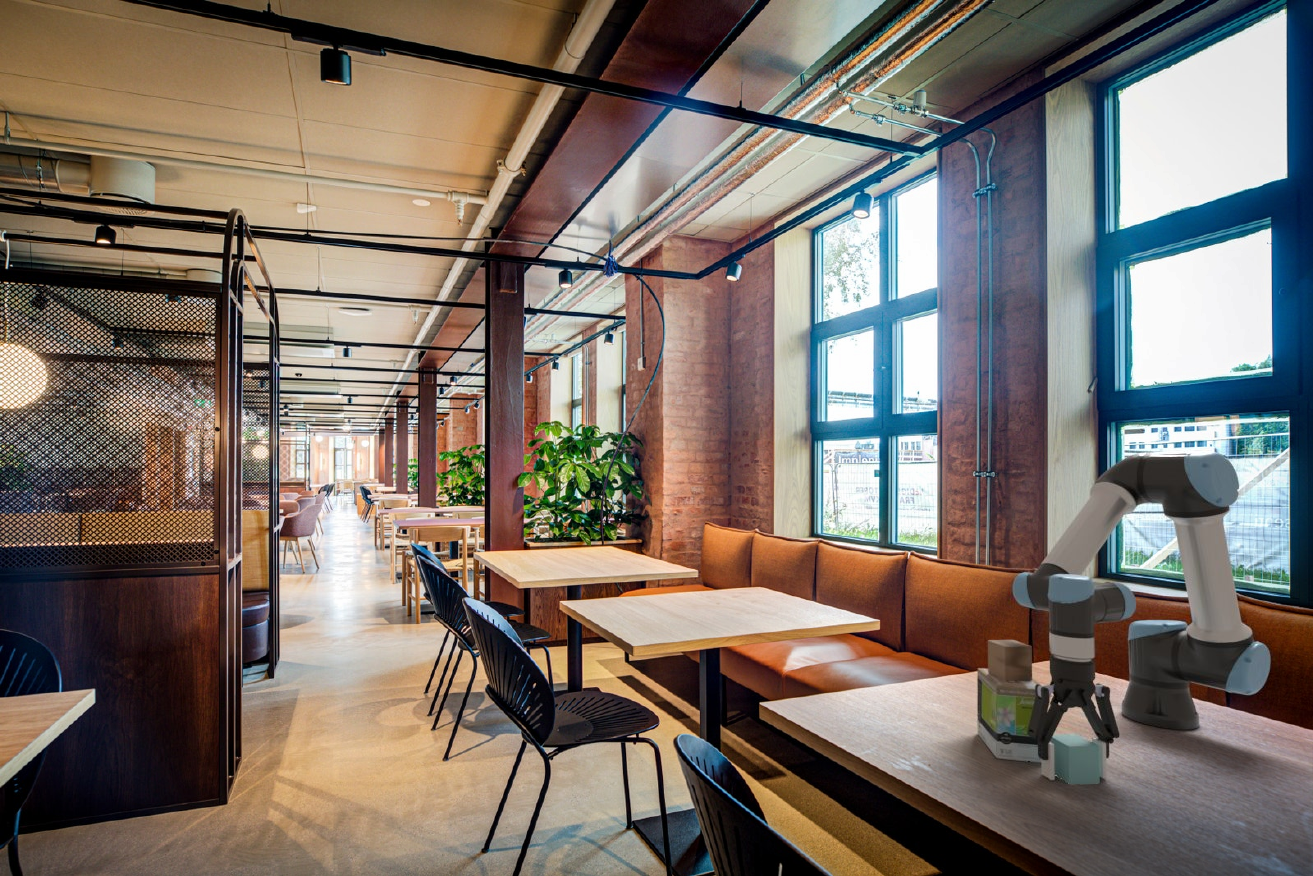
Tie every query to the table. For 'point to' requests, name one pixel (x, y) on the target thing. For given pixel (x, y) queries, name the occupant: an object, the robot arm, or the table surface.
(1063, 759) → the teal block
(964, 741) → the table surface
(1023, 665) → the walnut block
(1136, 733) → the table surface
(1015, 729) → the tea box
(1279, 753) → the table surface
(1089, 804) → the table surface
